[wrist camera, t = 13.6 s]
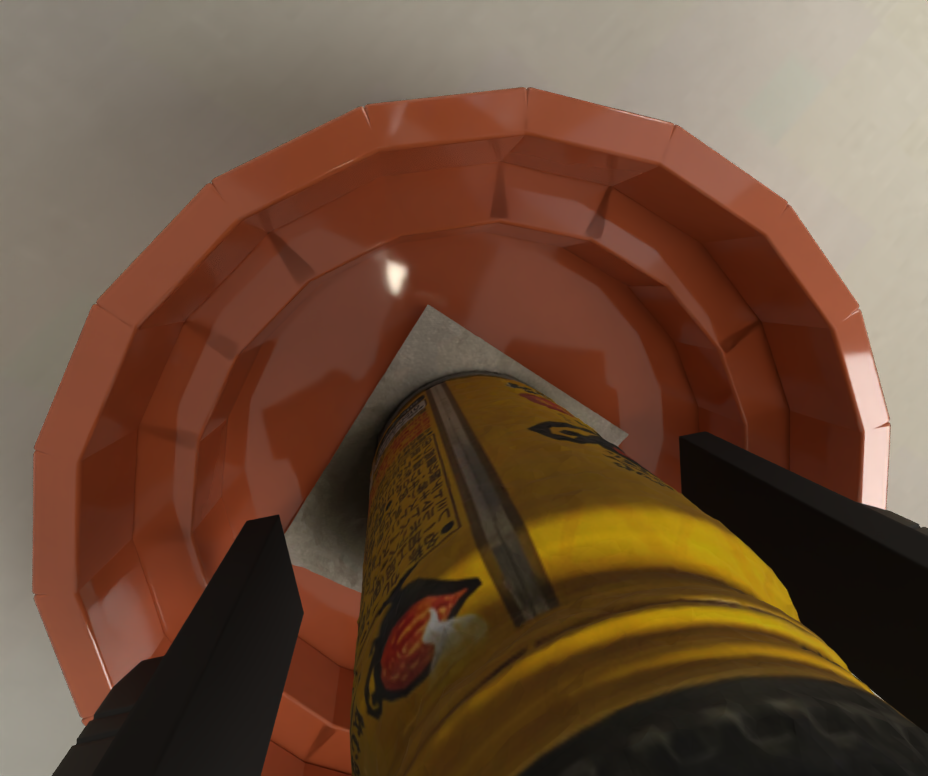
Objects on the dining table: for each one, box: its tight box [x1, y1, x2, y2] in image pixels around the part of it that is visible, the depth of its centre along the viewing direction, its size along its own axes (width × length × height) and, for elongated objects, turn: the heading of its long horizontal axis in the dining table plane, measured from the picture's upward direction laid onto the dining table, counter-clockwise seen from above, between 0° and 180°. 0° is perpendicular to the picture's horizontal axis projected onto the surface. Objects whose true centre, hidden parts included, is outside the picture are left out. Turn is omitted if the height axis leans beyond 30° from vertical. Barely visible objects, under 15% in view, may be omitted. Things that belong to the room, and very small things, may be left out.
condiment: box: [284, 305, 928, 776], centre depth 9 cm, size 7×8×12 cm
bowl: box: [32, 87, 891, 776], centre depth 13 cm, size 19×19×5 cm
